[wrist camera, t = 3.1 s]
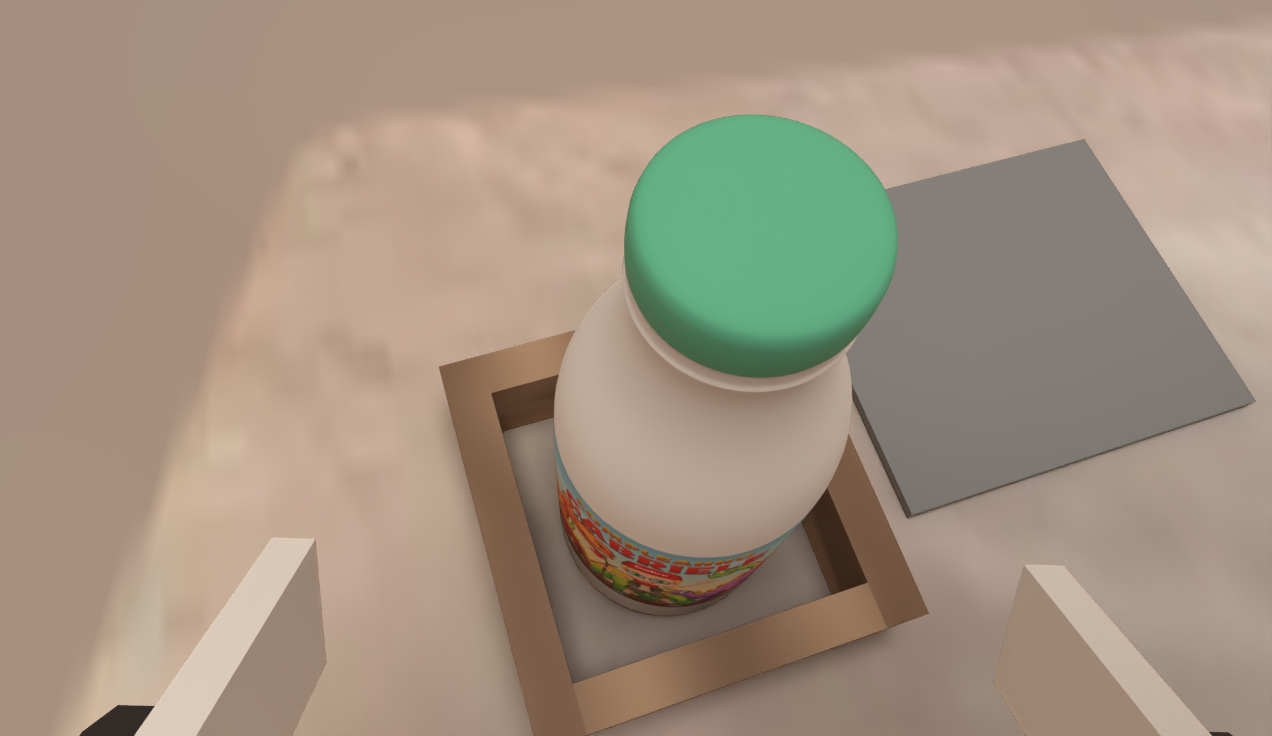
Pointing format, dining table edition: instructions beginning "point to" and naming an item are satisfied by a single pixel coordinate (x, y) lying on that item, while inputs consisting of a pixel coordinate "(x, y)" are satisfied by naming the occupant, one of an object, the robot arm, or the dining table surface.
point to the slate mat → (1026, 331)
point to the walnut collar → (566, 713)
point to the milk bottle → (719, 360)
